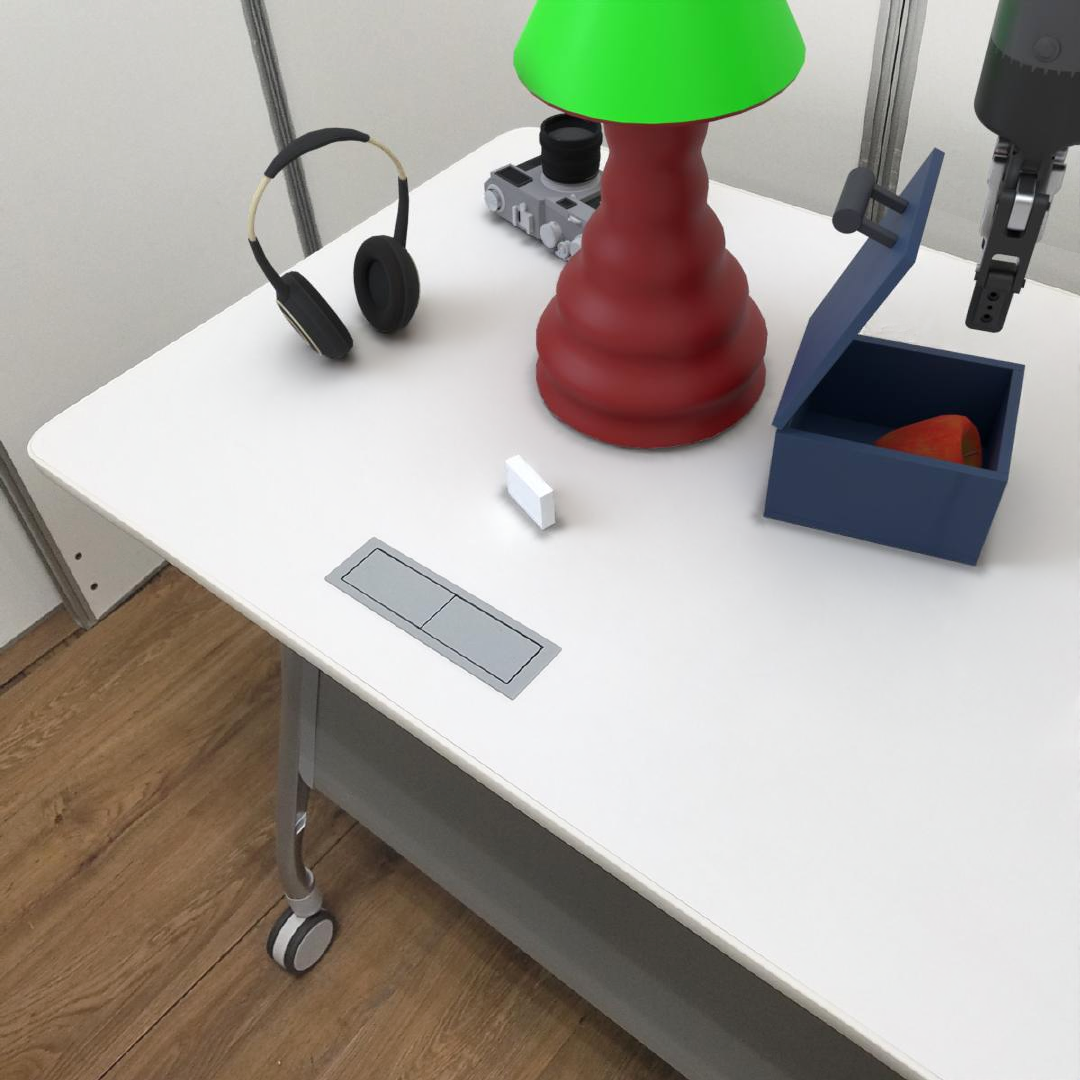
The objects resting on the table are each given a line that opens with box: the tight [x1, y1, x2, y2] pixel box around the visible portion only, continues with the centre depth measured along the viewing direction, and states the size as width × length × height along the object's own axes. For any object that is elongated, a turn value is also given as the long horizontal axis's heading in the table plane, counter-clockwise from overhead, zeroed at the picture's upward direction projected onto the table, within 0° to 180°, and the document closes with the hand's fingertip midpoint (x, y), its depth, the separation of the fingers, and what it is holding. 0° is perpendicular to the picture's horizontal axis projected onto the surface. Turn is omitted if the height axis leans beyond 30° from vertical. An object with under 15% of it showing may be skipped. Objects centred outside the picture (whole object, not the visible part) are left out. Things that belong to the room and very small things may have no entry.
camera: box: [483, 112, 604, 262], centre depth 107 cm, size 18×10×10 cm
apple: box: [873, 415, 982, 468], centre depth 81 cm, size 6×6×8 cm
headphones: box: [247, 127, 421, 359], centre depth 93 cm, size 9×15×20 cm, turn 125°
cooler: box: [763, 333, 1026, 567], centre depth 82 cm, size 16×13×9 cm
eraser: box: [504, 454, 556, 531], centre depth 84 cm, size 1×5×4 cm, turn 34°
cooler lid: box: [771, 147, 946, 430], centre depth 74 cm, size 16×13×5 cm
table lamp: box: [512, 0, 807, 450], centre depth 78 cm, size 20×20×45 cm
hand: (990, 287), depth 70 cm, fingers open, 8 cm apart
